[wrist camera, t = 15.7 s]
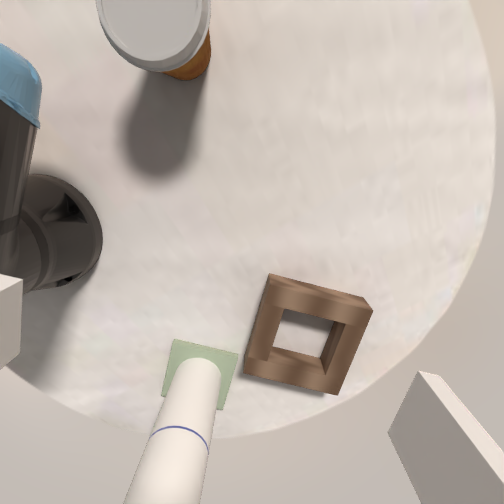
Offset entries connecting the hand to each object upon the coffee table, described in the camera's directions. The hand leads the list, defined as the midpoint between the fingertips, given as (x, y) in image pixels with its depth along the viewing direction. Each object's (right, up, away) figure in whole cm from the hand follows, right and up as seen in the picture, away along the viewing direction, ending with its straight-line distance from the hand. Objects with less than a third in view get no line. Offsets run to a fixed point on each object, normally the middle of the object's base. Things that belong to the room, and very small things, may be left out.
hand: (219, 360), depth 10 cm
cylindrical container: (-7, -16, +38) cm, 42 cm away
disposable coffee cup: (-7, +27, +26) cm, 38 cm away
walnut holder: (+8, -8, +36) cm, 38 cm away
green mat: (-7, -15, +39) cm, 42 cm away
